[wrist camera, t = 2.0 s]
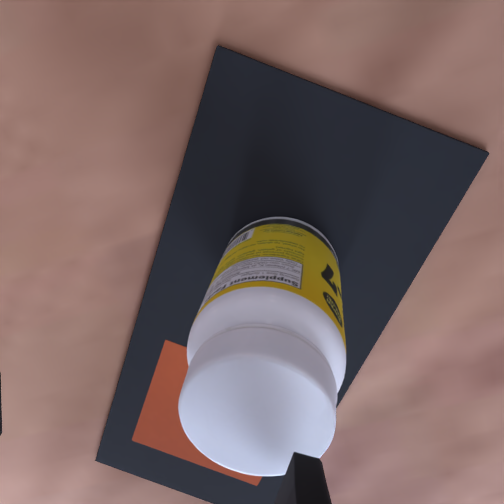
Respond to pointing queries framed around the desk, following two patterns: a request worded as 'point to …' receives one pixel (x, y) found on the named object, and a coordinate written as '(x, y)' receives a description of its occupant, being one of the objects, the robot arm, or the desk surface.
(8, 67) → the desk surface
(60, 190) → the desk surface
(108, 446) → the place mat
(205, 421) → the supplement bottle
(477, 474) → the desk surface
